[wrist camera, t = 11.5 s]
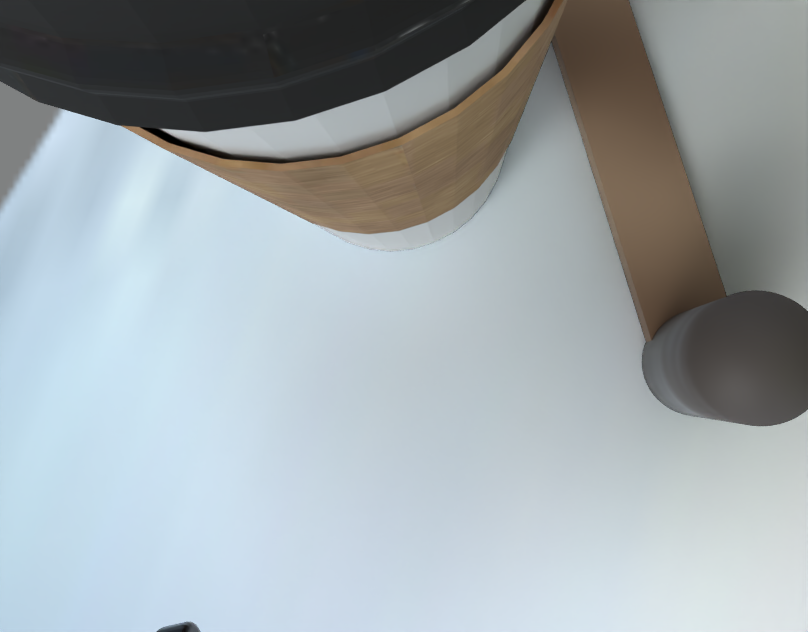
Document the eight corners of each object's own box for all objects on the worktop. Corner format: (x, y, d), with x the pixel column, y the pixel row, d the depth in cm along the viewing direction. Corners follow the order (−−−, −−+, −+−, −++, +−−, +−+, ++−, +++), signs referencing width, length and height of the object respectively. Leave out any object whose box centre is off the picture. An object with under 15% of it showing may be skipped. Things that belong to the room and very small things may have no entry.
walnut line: (448, -252, 20) (438, -411, 16) (538, -284, 20) (551, -454, 16) (660, 428, 17) (711, 441, 13) (765, 400, 17) (849, 405, 13)
